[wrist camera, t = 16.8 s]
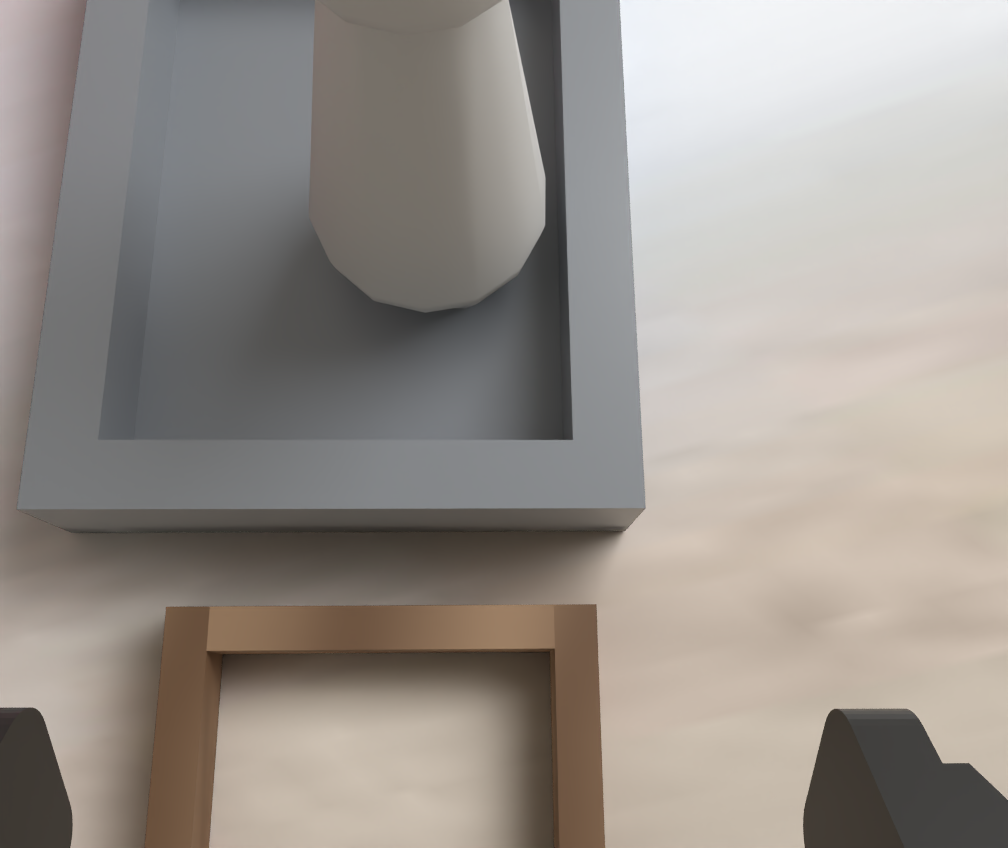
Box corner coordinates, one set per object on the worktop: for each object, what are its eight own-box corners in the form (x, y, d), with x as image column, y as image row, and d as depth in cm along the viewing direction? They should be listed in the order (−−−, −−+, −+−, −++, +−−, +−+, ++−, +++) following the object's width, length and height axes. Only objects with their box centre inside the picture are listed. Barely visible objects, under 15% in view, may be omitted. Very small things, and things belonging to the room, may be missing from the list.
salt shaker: (406, 385, 24) (338, 55, 12) (282, 223, 26) (102, -231, 13) (583, 262, 26) (690, -157, 13) (457, 113, 27) (444, -401, 14)
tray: (598, -45, 29) (613, -126, 27) (625, 531, 24) (645, 507, 21) (141, -53, 29) (105, -136, 26) (71, 532, 24) (16, 509, 21)
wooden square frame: (588, 610, 24) (596, 604, 22) (604, 1070, 21) (613, 1097, 20) (184, 612, 23) (166, 606, 22) (145, 1080, 21) (120, 1108, 19)
